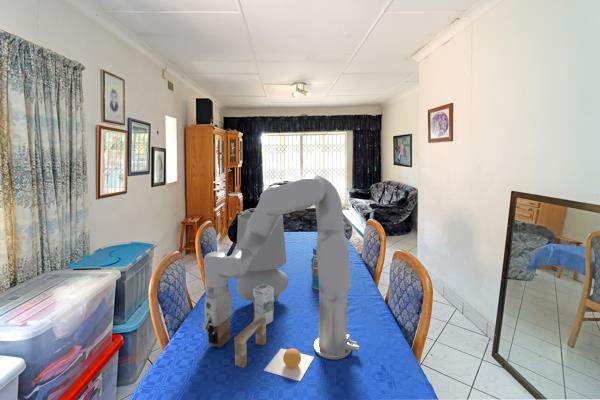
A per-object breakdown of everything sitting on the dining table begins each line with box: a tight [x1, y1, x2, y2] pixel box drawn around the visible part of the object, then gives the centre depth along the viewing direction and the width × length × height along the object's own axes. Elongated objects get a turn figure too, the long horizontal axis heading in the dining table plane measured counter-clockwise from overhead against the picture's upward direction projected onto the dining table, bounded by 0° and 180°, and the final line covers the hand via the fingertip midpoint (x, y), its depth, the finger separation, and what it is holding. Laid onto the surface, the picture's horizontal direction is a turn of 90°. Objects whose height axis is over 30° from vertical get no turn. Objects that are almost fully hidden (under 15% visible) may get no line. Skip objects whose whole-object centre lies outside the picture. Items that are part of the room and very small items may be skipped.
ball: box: [283, 348, 301, 368], centre depth 101 cm, size 6×6×6 cm
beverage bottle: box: [310, 245, 319, 290], centre depth 159 cm, size 8×8×20 cm
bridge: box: [233, 316, 267, 368], centre depth 107 cm, size 3×14×9 cm, turn 157°
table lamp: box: [236, 211, 289, 303], centre depth 140 cm, size 23×22×40 cm
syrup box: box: [252, 284, 275, 326], centre depth 126 cm, size 6×6×14 cm
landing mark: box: [263, 347, 315, 382], centre depth 102 cm, size 12×12×1 cm
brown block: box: [206, 316, 231, 349], centre depth 112 cm, size 5×6×8 cm
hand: (219, 337), depth 112 cm, fingers closed on brown block, 6 cm apart
